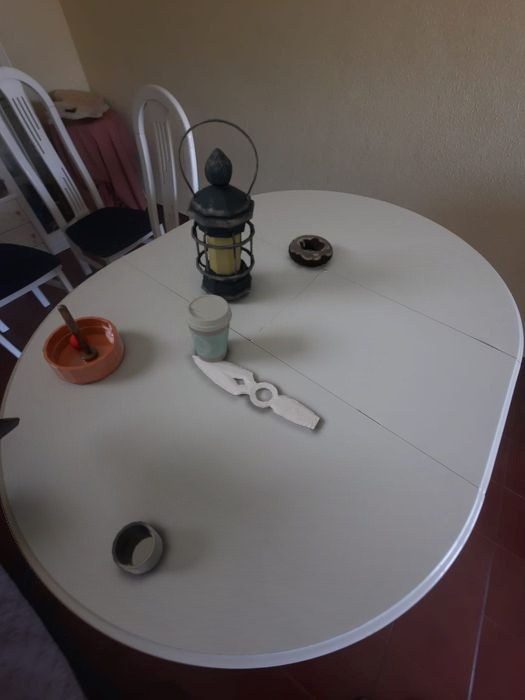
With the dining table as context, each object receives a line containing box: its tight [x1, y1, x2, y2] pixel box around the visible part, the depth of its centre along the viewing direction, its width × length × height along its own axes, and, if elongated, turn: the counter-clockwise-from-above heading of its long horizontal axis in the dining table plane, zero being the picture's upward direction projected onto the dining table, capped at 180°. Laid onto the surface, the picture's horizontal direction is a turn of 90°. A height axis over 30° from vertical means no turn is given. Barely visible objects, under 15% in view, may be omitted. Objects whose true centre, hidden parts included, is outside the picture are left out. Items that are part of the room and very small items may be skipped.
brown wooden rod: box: [57, 303, 99, 362], centre depth 62 cm, size 3×3×13 cm
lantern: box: [177, 118, 259, 301], centre depth 68 cm, size 14×13×35 cm
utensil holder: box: [111, 520, 164, 575], centre depth 45 cm, size 5×5×4 cm
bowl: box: [42, 315, 125, 385], centre depth 66 cm, size 13×13×5 cm
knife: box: [191, 354, 321, 430], centre depth 63 cm, size 6×28×1 cm, turn 58°
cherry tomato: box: [70, 334, 88, 349], centre depth 67 cm, size 3×3×3 cm
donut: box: [287, 234, 334, 269], centre depth 89 cm, size 12×12×4 cm
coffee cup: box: [184, 294, 233, 363], centre depth 65 cm, size 8×9×12 cm
